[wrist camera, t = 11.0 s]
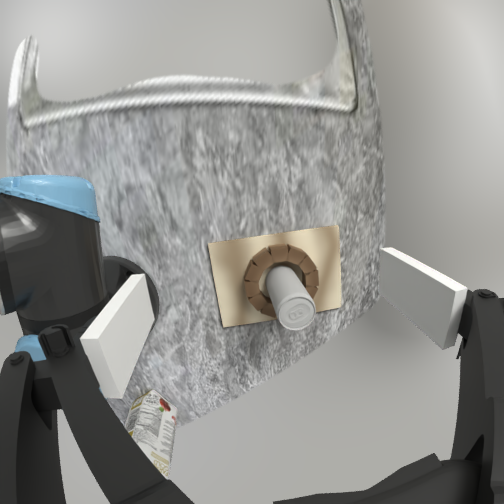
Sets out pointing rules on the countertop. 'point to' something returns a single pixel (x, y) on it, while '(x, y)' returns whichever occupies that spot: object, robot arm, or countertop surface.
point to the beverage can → (290, 298)
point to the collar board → (267, 257)
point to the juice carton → (153, 428)
